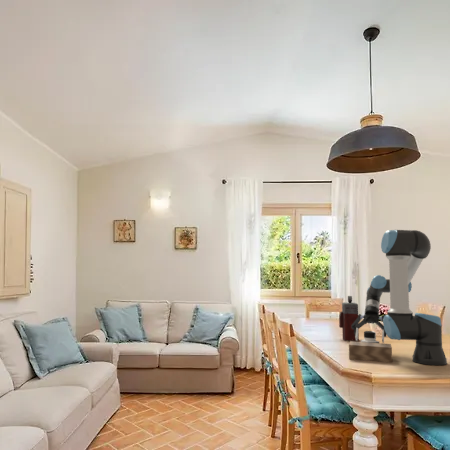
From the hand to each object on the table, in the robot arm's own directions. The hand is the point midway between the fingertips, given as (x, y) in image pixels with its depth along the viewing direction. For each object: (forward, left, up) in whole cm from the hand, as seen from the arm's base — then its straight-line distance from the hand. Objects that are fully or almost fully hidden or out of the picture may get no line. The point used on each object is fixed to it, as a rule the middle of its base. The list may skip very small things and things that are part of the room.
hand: (369, 340), depth 231 cm
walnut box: (-11, +7, -7) cm, 15 cm away
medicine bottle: (-1, 0, -7) cm, 7 cm away
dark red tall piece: (+47, -16, -7) cm, 50 cm away
